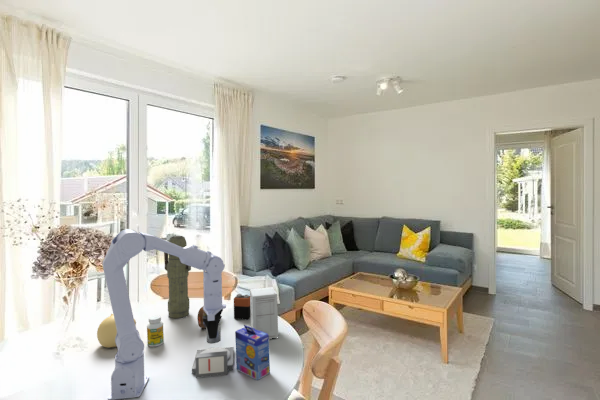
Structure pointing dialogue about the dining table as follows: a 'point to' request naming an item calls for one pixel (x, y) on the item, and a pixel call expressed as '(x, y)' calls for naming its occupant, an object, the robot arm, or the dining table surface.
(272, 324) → the white tall box
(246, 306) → the battery
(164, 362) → the dining table surface
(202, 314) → the tin
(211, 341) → the silver metal cylinder
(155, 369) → the dining table surface
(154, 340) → the supplement bottle
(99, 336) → the sculpture
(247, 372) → the ink cartridge box
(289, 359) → the dining table surface
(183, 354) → the dining table surface
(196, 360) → the scale
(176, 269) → the thermos
